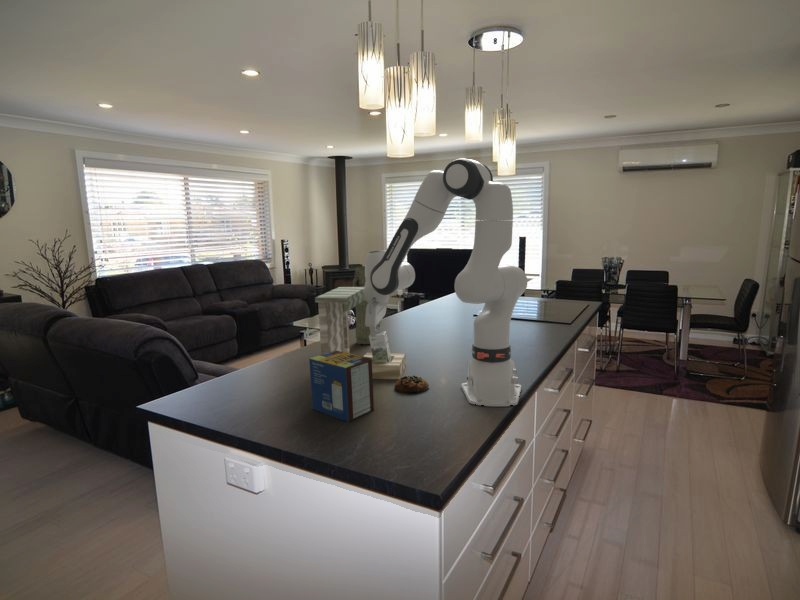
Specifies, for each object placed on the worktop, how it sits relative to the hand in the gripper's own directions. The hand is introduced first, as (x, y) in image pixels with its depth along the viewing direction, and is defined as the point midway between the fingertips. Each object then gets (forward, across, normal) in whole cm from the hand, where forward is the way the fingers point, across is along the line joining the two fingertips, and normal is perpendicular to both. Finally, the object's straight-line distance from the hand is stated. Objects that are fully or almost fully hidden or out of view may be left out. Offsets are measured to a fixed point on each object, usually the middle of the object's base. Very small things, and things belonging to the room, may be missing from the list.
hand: (375, 332), depth 162 cm
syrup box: (+14, -2, -4) cm, 15 cm away
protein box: (+13, -36, +2) cm, 39 cm away
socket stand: (+15, -1, +2) cm, 15 cm away
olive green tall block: (+17, +40, +13) cm, 46 cm away
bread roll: (+13, -17, -16) cm, 27 cm away
